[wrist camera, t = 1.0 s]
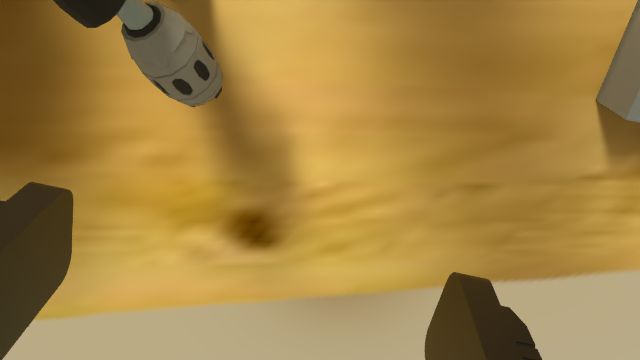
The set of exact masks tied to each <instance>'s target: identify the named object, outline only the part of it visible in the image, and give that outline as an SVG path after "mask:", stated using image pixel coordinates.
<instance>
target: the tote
mask: <svg viewBox="0 0 640 360" xmlns="http://www.w3.org/2000/svg"><path fill="white" fill-rule="evenodd" d="M596 101H598V102H599V103H601V104H602V105H604V106H606V107H607V108H609V109H610V110H612V111H613V112H615V113H616V114H618V115H619V116H621V117H622V118H624V119H625V120H629V121H634V122H638V123H640V0H638V2H637V4H636V6H635V9H634V11H633V13H632V16H631V18H630V21H629V23H628V25H627V28H626V30H625V32H624V35H623V37H622V39H621V42H620V44H619V47H618V49H617V51H616V54H615V56H614V58H613V61H612V63H611V65H610V68H609V70H608V73H607V75H606V77H605V80H604V82H603V84H602V87H601V89H600V91H599V94H598V96H597V98H596Z"/></svg>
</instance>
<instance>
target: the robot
mask: <svg viewBox="0 0 640 360" xmlns="http://www.w3.org/2000/svg"><path fill="white" fill-rule="evenodd" d="M53 1H54V2H55V3H56V4H57V5H58V6H59V7H60V8H61V9H63V10H64V11H65V12H66V13H68V14H69V15H70V16H71V17H73V18H74V19H75V20H76V21H78V22H79V23H81V24H82V25H84V26H85V27H87V28H96V27H98V26H100V25H102V24H104V23H106V22H108V21H110V20H111V19H112V18H113V17H114V16H115V15H117V16H118V17H119V18H120V19H121V20H122V21H123V25H122V30H121V32H122V34H123V37H124V40H125V42H126V45H127V48H128V50H129V53H130V55H131V58H132V59H133V60H134V61H135V62H136V64H137V65H138V67H139V69H140V70H141V72H142V73H143V74H144V75H145V76H146V77H147V78H148V79H149V80H150V81H151V82H152V83H153V84H154V85H155V86H156V87H157V88H159V89H160V90H161V91H162V92H163V93H165V94H166V95H167V96H168V97H170V98H173V99H175V100H177V101H179V102H181V103H184V104H186V105H188V106H191V107H195V106H199V105H203V104H205V103H206V102H208V101H209V100H211V99H213V98H217V97H218V96H219V94H220V93H221V91H222V81H223V72H222V70H221V68H220V66H219V63H218V61H217V60H216V58H215V56H214V55H213V53H212V51H211V50H210V48H209V47H208V45H207V44H206V43H205V41H204V40H203V38H202V37H201V36H200V34H199V33H198V32H197V31H196V29H195V28H194V27H193V26H192V25H191V24H190V23H189V22H188V21H187V20H185V19H184V18H183V17H182V16H181V14H180V13H178V12H176V11H174V10H172V9H169V8H167V7H165V6H163V5H161V4H158V3H155V2H149V3H144V2H142V1H141V0H53Z"/></svg>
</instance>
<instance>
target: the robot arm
mask: <svg viewBox="0 0 640 360" xmlns="http://www.w3.org/2000/svg"><path fill="white" fill-rule="evenodd" d="M72 224H73V195H72V192H71V191H70V190H68V189H63V188H58V187H53V186H49V185H44V184H39V183H34V182H30V183H28V184H27V185H25V186H24V187H23V188H22V189H21V190H19V191H18V192H17V193H16V194H15V195H13V196H12V197H11V198H10V199H9V200H7V201H6V202H5V201H0V360H2V359H3V358H4V356H5V355H6V354H7V352H8V351H9V350H10V349H11V347H12V346H13V345H14V344H15V342H16V341H17V340H18V338H19V337H20V336H21V335H22V333H23V332H24V331H25V329H26V328H27V327H28V326H29V324H30V323H31V322H32V320H33V319H34V318H35V317H36V315H37V314H38V313H39V311H40V310H41V309H42V308H43V306H44V305H45V304H46V302H47V301H48V300H49V299H50V297H51V296H52V295H53V293H54V292H55V291H56V290H57V288H58V287H59V286H60V284H61V283H62V281H63V280H64V278H65V276H66V273H67V271H68V268H69V264H70V260H71V252H72ZM425 341H426V342H425V359H426V360H542V358H541V357H540V354H539V352H538V350H537V349H535V343H534V341H533V339H532V337H531V335H530V332H529V330H528V328H527V326H526V325H525V324H524V323H523V322H522V321H521V320H520V319H519V317H518V316H517V315H516V314H515V313H514V312H513V311H512V310H511V309H510V308H509V307H504V306H501V305H500V303H499V301H498V298H497V296H496V294H495V291H494V289H493V286H492V284H491V282H490V281H489V280H488V279H485V278H480V277H475V276H470V275H466V274H461V273H456V272H453V273H452V274H451V275H450V276H449V278H448V280H447V282H446V284H445V287H444V289H443V292H442V295H441V297H440V300H439V302H438V305H437V307H436V310H435V312H434V315H433V317H432V320H431V322H430V325H429V328H428V331H427V335H426V340H425Z"/></svg>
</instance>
